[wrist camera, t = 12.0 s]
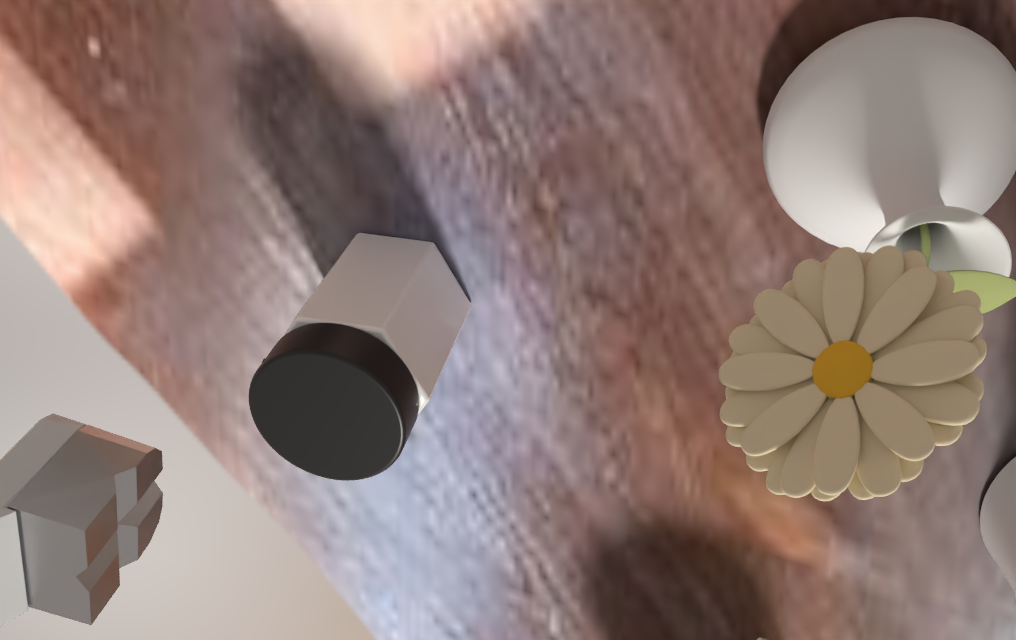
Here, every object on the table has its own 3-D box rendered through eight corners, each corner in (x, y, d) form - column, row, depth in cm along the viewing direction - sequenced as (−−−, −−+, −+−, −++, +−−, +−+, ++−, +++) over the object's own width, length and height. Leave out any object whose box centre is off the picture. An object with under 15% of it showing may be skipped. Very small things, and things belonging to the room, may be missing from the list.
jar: (303, 254, 56) (209, 372, 46) (417, 206, 53) (341, 322, 43) (382, 371, 59) (310, 503, 50) (492, 333, 56) (439, 467, 46)
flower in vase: (1016, -22, 40) (1297, 258, 20) (1021, 215, 46) (1247, 627, 25) (709, 46, 45) (680, 336, 24) (747, 256, 50) (749, 638, 29)
